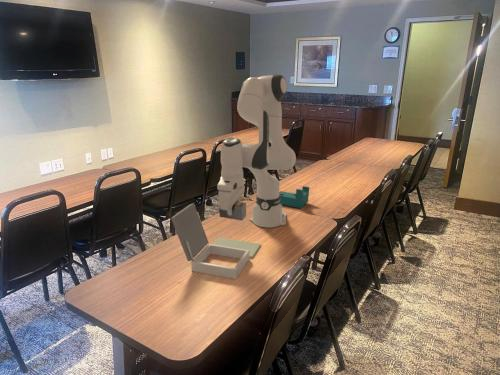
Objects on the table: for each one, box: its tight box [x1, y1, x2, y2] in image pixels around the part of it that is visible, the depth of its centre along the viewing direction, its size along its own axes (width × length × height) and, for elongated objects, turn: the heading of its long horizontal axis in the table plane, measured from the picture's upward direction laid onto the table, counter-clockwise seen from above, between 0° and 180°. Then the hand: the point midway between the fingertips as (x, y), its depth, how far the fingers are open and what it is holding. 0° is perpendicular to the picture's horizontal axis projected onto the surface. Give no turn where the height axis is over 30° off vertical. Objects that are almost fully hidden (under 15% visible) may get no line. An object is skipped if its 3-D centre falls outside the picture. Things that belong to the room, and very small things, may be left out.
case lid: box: [170, 202, 210, 262], centre depth 140 cm, size 16×18×2 cm
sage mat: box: [212, 237, 262, 259], centre depth 154 cm, size 12×20×1 cm, turn 72°
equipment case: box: [186, 241, 250, 280], centre depth 139 cm, size 16×20×12 cm
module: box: [218, 201, 247, 222], centre depth 146 cm, size 4×10×6 cm, turn 68°
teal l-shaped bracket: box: [279, 185, 310, 209], centre depth 207 cm, size 18×11×10 cm, turn 59°
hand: (232, 211), depth 146 cm, fingers closed on module, 5 cm apart
